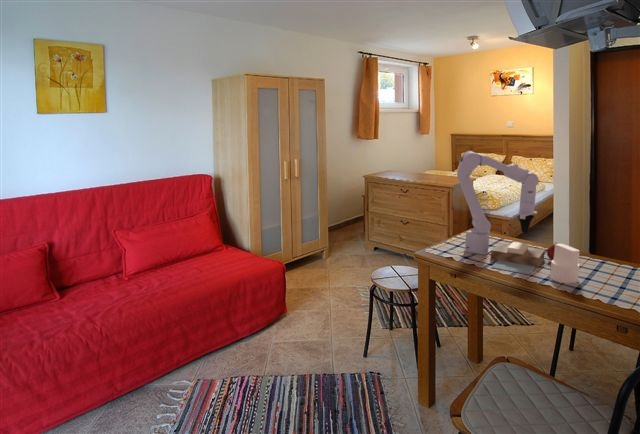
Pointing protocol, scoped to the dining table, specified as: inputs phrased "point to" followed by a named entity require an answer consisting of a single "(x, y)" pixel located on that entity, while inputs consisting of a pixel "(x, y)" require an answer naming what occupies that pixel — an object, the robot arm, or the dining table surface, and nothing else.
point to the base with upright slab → (565, 264)
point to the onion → (551, 251)
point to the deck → (518, 255)
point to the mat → (513, 267)
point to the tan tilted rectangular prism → (517, 248)
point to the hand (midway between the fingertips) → (524, 232)
